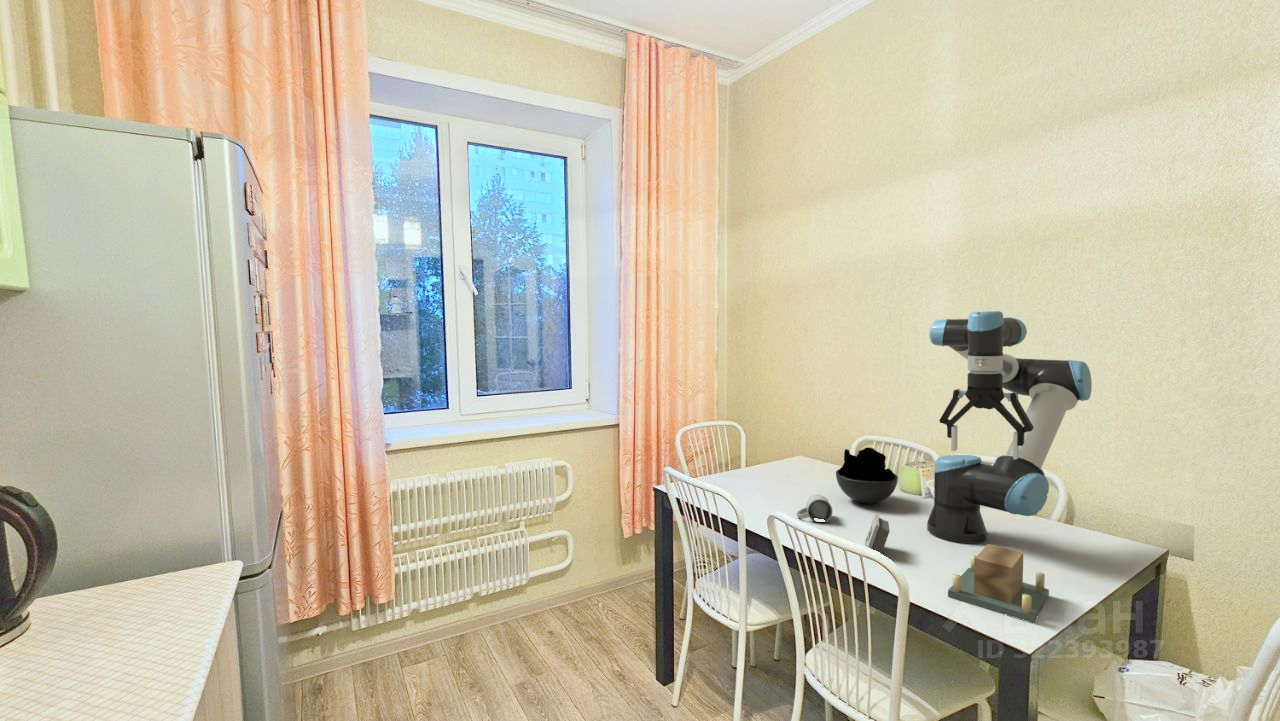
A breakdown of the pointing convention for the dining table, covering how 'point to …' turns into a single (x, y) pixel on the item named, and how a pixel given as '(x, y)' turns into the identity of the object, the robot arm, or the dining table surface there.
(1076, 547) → the dining table surface
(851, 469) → the bowl of black rocks
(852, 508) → the dining table surface
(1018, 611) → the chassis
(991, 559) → the walnut block
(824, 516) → the ceramic mug
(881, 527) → the electrical switch
